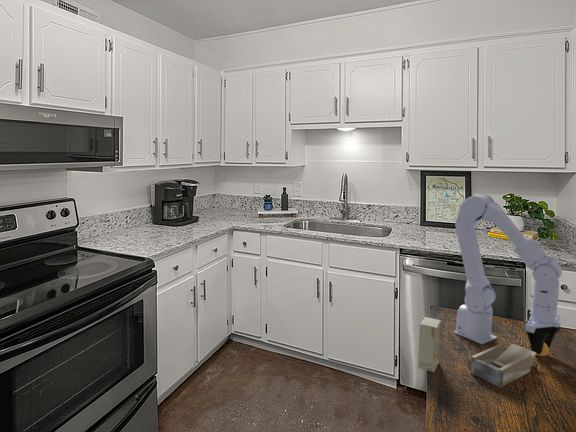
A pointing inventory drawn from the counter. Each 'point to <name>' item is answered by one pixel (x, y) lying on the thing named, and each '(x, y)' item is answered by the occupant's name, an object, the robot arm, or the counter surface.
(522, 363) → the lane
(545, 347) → the ball
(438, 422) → the counter surface
